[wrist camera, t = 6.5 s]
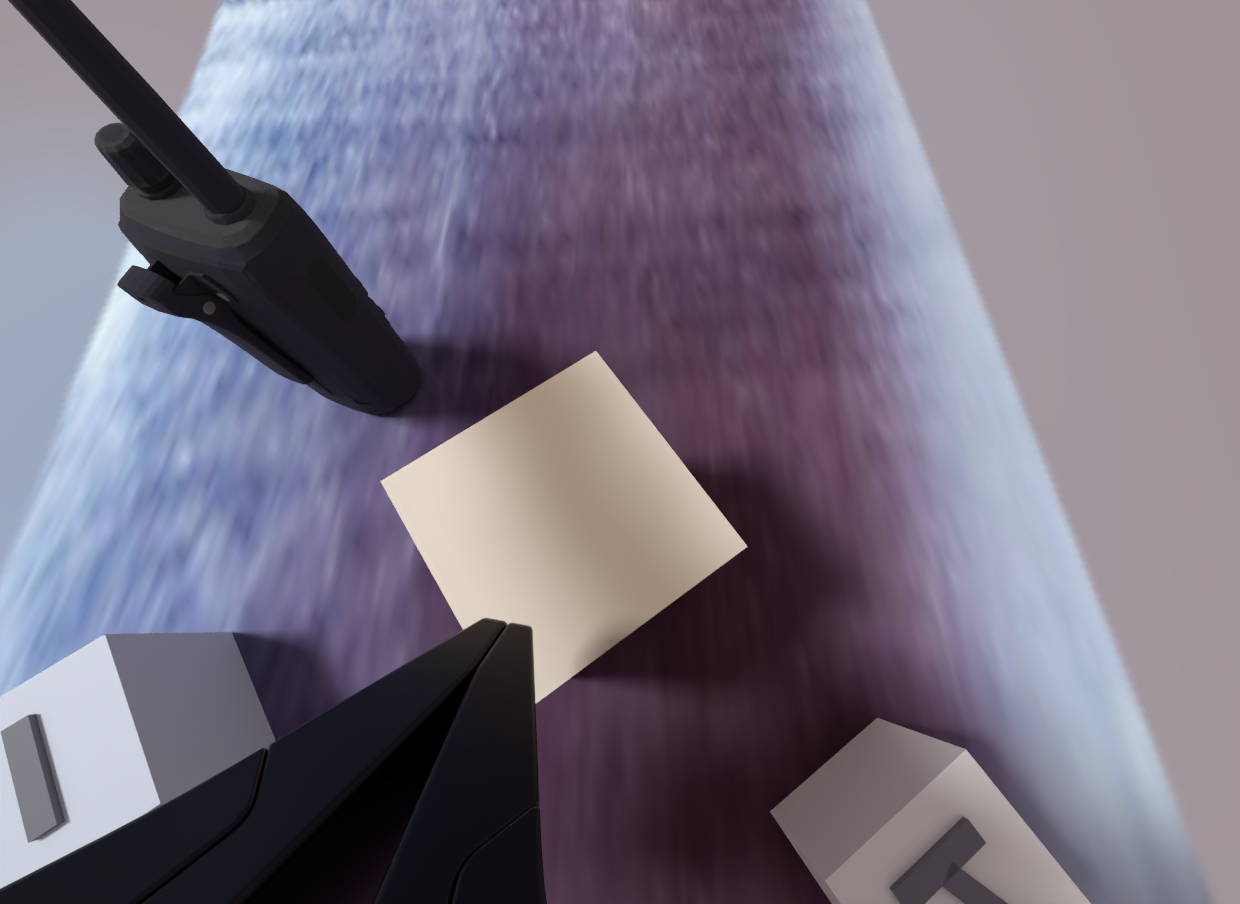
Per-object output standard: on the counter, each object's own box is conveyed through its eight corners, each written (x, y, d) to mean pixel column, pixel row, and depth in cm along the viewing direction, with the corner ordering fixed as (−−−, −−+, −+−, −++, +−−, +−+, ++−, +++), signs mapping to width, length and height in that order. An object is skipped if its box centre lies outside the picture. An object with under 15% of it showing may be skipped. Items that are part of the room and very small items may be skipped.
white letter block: (872, 965, 16) (986, 1118, 11) (769, 810, 17) (828, 884, 12) (983, 856, 17) (1133, 951, 12) (876, 717, 18) (970, 750, 13)
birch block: (563, 677, 18) (513, 720, 10) (482, 542, 20) (380, 481, 12) (693, 581, 20) (747, 546, 11) (606, 461, 21) (596, 350, 13)
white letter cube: (142, 852, 17) (-56, 946, 12) (100, 715, 18) (-94, 748, 13) (283, 756, 18) (154, 805, 13) (233, 632, 19) (98, 634, 14)
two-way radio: (441, 367, 23) (140, -66, 9) (392, 453, 21) (-61, 111, 7) (335, 329, 23) (-106, -129, 9) (281, 411, 22) (-334, 21, 8)
